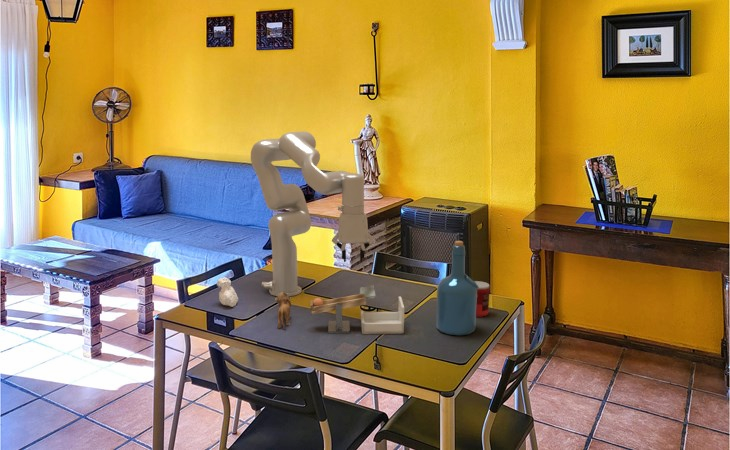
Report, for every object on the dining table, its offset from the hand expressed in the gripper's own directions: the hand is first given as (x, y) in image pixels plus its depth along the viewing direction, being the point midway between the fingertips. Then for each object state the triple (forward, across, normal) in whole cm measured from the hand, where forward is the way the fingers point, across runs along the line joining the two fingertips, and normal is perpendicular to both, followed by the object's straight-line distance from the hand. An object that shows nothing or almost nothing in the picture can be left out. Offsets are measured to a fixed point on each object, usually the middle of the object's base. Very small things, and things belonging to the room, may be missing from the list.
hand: (353, 260), depth 209 cm
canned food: (+20, +44, -2) cm, 48 cm away
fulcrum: (+19, -5, -14) cm, 24 cm away
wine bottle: (+20, +34, -16) cm, 42 cm away
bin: (+19, +9, -14) cm, 26 cm away
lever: (+12, -3, -9) cm, 15 cm away
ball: (+11, -12, -14) cm, 21 cm away
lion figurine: (+20, -24, -8) cm, 32 cm away
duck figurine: (+20, -46, +11) cm, 51 cm away
